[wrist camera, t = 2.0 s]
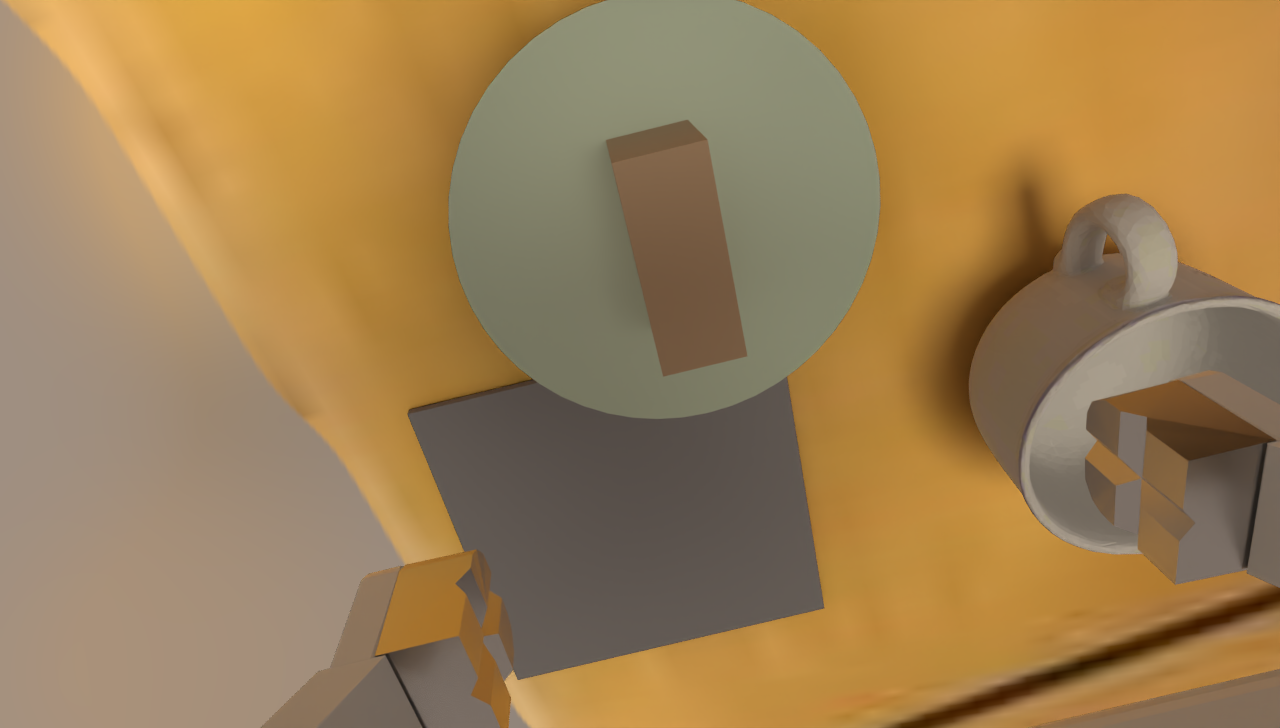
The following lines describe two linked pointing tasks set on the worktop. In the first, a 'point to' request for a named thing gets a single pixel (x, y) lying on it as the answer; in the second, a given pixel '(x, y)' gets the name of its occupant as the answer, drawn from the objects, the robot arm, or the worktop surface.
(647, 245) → the lid
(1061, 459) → the teacup
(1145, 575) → the worktop surface
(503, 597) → the mat
